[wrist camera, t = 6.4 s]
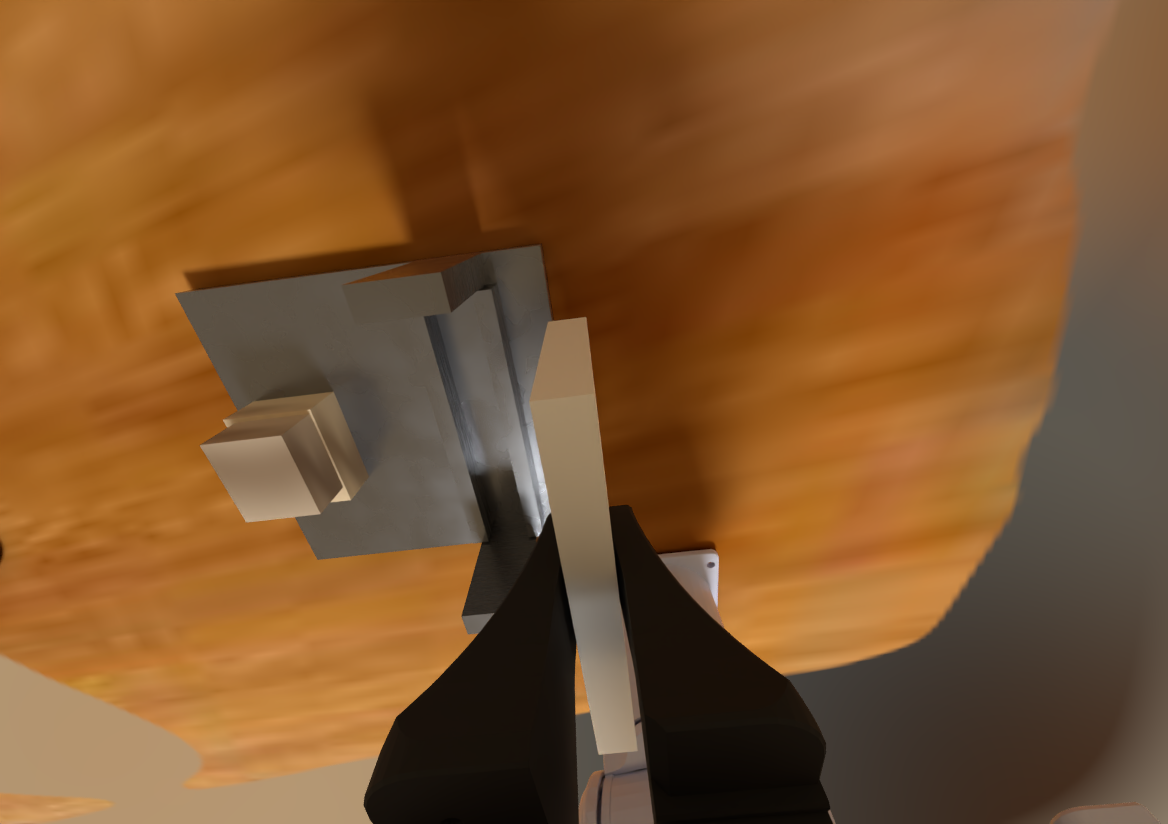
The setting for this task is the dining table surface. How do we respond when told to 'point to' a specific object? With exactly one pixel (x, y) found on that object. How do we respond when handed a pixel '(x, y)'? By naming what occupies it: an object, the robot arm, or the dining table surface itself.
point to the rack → (407, 397)
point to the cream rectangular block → (583, 525)
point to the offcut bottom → (328, 427)
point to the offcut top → (274, 467)
